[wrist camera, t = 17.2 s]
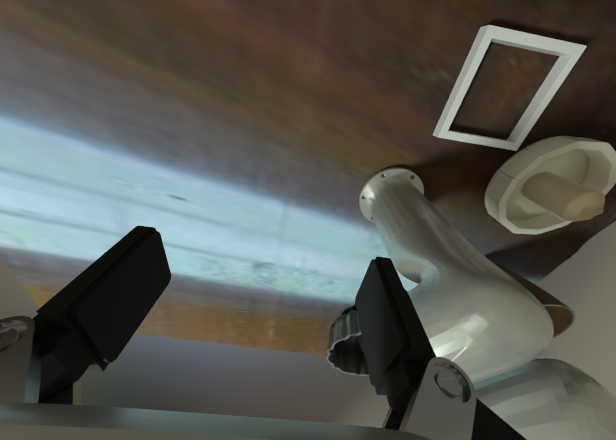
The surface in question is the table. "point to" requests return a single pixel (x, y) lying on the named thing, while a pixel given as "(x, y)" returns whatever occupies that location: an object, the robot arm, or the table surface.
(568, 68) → the white square frame
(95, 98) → the table surface
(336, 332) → the bundt pan
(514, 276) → the plant pot
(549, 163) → the bowl
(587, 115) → the table surface
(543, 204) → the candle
